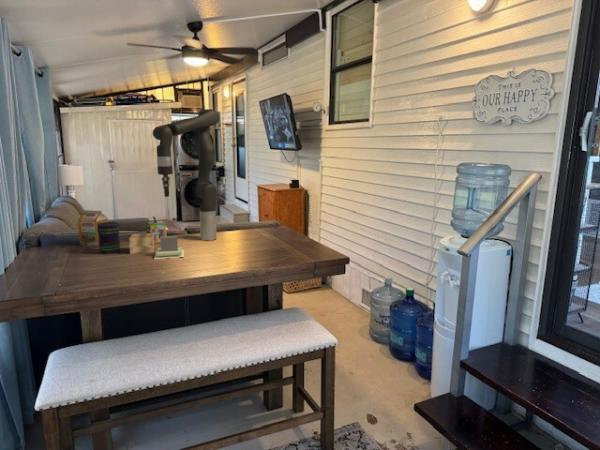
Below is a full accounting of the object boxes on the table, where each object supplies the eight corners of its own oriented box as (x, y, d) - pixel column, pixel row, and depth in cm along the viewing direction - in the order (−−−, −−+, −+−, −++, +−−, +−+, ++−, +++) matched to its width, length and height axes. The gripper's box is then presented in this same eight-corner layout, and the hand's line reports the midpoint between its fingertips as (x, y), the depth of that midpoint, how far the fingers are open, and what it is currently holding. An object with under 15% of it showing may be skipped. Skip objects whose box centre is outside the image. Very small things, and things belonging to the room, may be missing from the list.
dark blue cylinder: (112, 255, 202) (110, 226, 200) (95, 253, 204) (92, 225, 201) (124, 250, 212) (122, 222, 209) (108, 249, 214) (105, 221, 211)
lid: (181, 250, 211) (181, 233, 209) (181, 256, 200) (181, 238, 198) (157, 251, 208) (156, 235, 206) (156, 258, 197) (155, 240, 195)
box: (154, 247, 218) (153, 233, 216) (152, 252, 207) (152, 237, 206) (132, 248, 215) (131, 234, 213) (130, 254, 204) (129, 238, 203)
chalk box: (167, 242, 231) (166, 217, 228) (150, 244, 226) (149, 218, 223) (163, 239, 238) (162, 214, 235) (147, 240, 233) (145, 215, 231)
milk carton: (109, 242, 229) (106, 209, 225) (98, 246, 218) (95, 212, 215) (91, 241, 230) (89, 208, 226) (80, 246, 219) (77, 211, 216)
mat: (184, 250, 212) (184, 250, 212) (184, 257, 199) (183, 256, 199) (156, 252, 209) (156, 251, 209) (154, 259, 195) (154, 258, 195)
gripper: (172, 165, 205) (174, 197, 209) (172, 164, 219) (174, 193, 222) (156, 166, 203) (159, 197, 206) (157, 164, 216) (160, 194, 220)
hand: (167, 195), depth 214 cm, fingers open, 8 cm apart
